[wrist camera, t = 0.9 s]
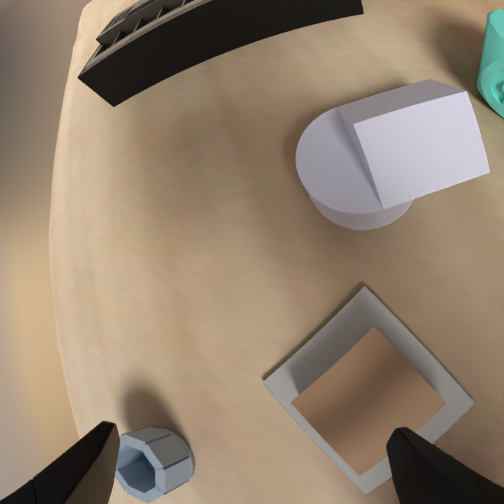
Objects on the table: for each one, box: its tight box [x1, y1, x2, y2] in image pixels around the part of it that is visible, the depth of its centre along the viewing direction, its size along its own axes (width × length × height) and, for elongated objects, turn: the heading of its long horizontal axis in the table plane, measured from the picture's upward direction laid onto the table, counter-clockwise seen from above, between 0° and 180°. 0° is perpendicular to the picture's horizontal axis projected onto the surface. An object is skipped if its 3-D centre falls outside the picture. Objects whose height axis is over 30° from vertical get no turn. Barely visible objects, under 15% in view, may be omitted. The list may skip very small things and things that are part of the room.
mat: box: [262, 286, 475, 495], centre depth 19 cm, size 12×10×1 cm
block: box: [290, 327, 446, 476], centre depth 18 cm, size 7×7×2 cm
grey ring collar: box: [115, 427, 195, 503], centre depth 21 cm, size 6×6×4 cm
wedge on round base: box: [296, 80, 490, 230], centre depth 20 cm, size 9×7×13 cm
